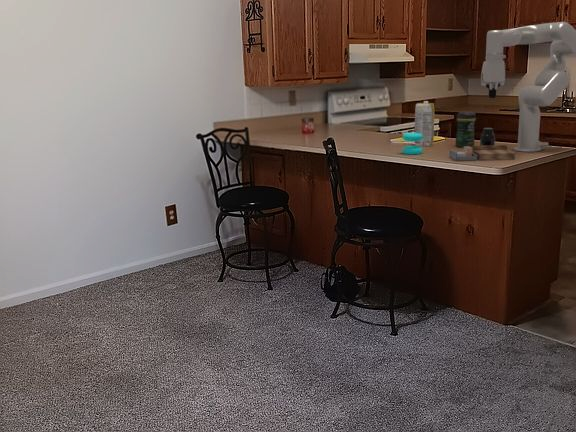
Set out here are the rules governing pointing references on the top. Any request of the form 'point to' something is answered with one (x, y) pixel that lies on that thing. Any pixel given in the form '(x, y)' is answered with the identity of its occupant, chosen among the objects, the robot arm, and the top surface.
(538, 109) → the robot arm
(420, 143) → the juice carton
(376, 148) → the top surface
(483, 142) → the supplement bottle
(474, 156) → the box
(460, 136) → the coffee jar
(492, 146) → the board
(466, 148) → the tile
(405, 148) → the donuts
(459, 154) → the tile
